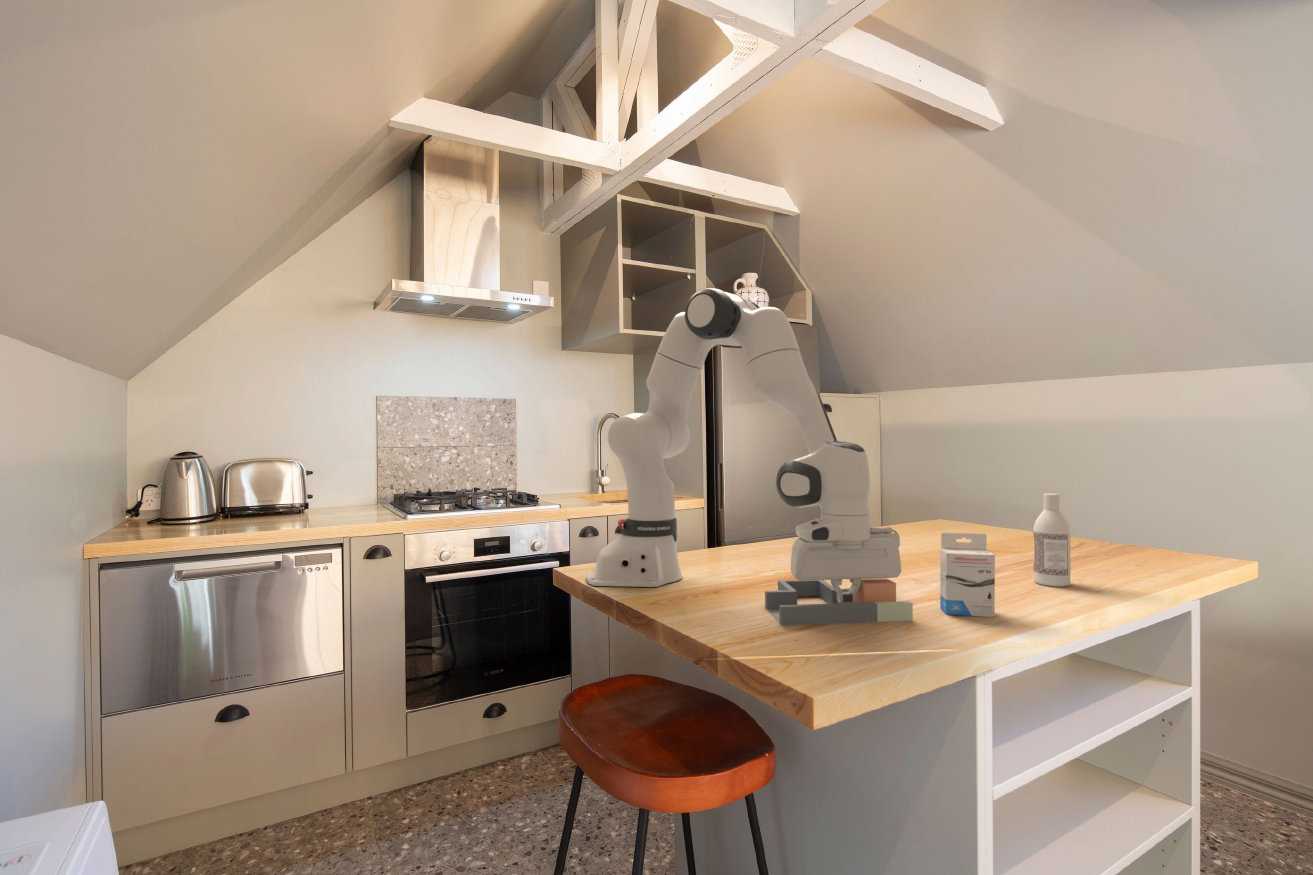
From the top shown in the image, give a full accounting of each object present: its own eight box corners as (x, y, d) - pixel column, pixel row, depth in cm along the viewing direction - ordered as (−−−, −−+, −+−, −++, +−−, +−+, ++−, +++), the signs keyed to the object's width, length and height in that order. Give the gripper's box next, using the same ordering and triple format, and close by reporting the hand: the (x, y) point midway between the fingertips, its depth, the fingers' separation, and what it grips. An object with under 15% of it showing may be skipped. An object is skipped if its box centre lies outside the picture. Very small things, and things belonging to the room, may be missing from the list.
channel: (781, 626, 110) (781, 607, 110) (755, 597, 130) (755, 580, 130) (912, 622, 112) (912, 602, 112) (867, 594, 132) (867, 577, 132)
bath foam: (1039, 578, 144) (1038, 491, 144) (1074, 583, 139) (1073, 493, 139) (1029, 583, 139) (1028, 493, 139) (1065, 589, 134) (1064, 496, 134)
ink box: (946, 615, 116) (945, 536, 116) (939, 608, 121) (939, 532, 121) (996, 617, 115) (995, 537, 114) (987, 610, 119) (987, 533, 119)
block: (864, 616, 115) (864, 584, 115) (853, 609, 120) (853, 577, 120) (896, 615, 115) (896, 583, 115) (884, 608, 120) (884, 576, 120)
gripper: (891, 524, 121) (892, 596, 121) (787, 527, 119) (788, 599, 119) (907, 529, 114) (907, 604, 114) (797, 532, 113) (798, 608, 113)
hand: (846, 602), depth 117 cm, fingers closed
